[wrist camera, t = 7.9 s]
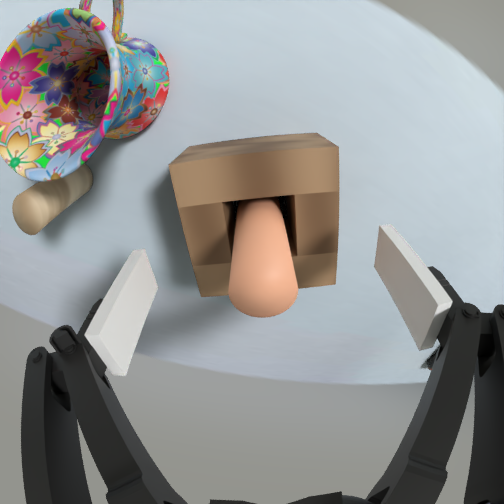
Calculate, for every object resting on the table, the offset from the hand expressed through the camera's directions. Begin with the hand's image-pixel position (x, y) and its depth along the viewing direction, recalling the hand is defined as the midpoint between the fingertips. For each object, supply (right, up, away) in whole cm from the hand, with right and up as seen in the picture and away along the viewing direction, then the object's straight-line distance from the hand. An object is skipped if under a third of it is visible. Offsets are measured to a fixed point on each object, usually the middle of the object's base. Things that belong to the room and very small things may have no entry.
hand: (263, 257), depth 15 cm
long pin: (0, +5, +8) cm, 9 cm away
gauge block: (0, +5, +8) cm, 9 cm away
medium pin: (-16, +7, +6) cm, 19 cm away
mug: (-10, +15, +2) cm, 18 cm away
